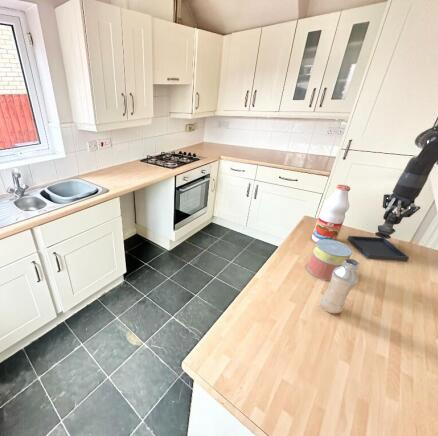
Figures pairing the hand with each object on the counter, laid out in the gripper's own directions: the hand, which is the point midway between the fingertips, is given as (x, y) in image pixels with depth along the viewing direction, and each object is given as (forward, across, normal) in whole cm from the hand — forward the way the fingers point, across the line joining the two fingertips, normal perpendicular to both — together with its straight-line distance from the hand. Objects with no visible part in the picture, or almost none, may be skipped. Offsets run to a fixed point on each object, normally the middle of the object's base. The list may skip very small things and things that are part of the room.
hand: (390, 221), depth 104 cm
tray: (+15, 0, 0) cm, 15 cm away
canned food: (+15, -14, +33) cm, 39 cm away
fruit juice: (+15, +8, +19) cm, 26 cm away
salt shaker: (+7, 0, 0) cm, 7 cm away
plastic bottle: (+15, -32, +43) cm, 56 cm away
